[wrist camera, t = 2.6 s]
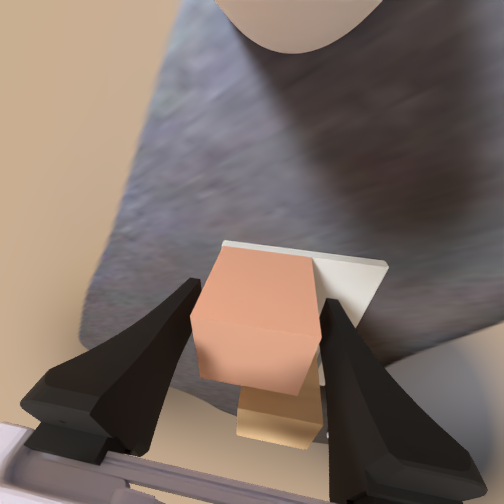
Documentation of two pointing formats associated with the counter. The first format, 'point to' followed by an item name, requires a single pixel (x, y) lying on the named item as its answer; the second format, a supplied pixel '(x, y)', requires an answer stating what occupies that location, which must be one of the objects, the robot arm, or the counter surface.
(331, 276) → the mat
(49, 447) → the robot arm
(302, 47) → the can
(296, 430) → the oak block
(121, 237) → the counter surface
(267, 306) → the terracotta block
